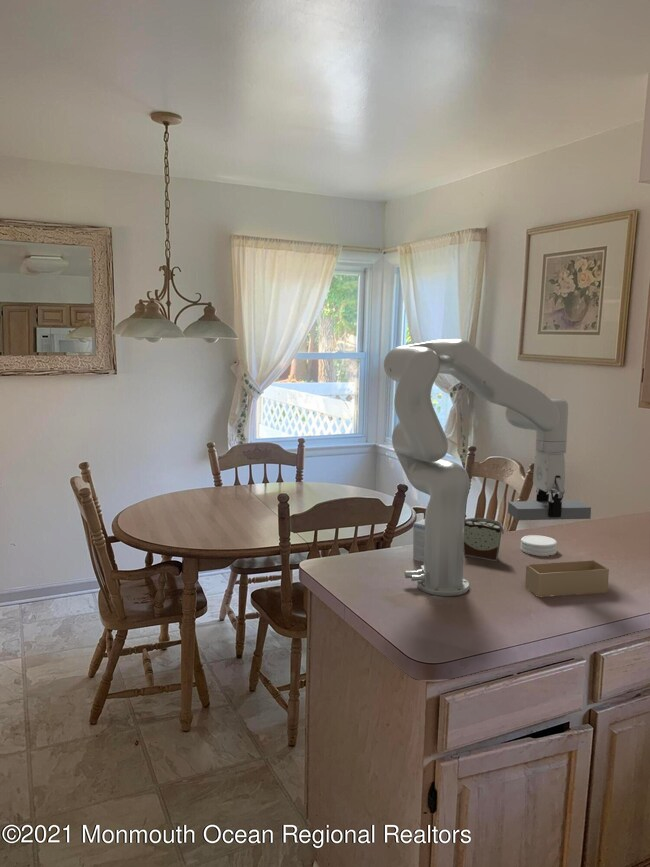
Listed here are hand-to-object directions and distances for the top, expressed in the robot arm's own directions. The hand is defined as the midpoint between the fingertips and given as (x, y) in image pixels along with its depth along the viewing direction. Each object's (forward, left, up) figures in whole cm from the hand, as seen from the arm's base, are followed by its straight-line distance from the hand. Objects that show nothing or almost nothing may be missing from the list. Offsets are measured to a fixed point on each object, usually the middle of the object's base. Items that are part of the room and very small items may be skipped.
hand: (548, 512), depth 166 cm
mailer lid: (0, 0, -1) cm, 1 cm away
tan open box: (-1, -14, -16) cm, 21 cm away
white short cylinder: (+4, +15, -16) cm, 22 cm away
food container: (-13, +12, -16) cm, 24 cm away
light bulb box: (-28, +11, -16) cm, 34 cm away
